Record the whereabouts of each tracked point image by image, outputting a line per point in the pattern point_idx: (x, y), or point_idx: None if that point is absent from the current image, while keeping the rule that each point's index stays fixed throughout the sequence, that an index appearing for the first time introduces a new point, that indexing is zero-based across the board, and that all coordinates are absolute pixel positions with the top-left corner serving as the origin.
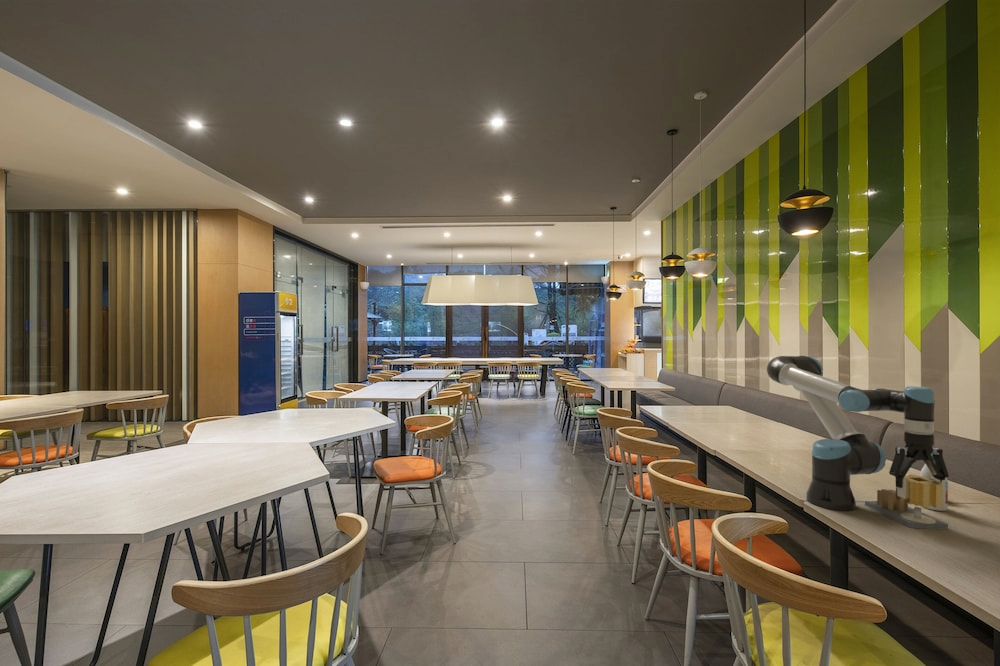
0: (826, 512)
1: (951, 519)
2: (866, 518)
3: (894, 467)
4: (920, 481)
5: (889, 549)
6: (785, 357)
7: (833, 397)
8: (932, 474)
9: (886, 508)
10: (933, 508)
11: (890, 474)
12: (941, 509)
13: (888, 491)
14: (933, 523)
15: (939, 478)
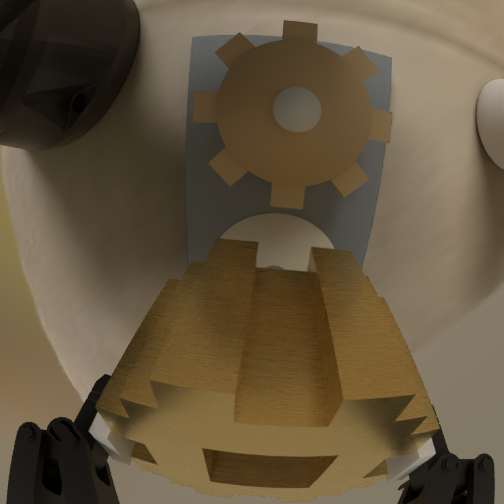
0: (12, 171)
1: (453, 240)
2: (90, 218)
3: (29, 491)
4: (224, 485)
5: (73, 372)
6: None
7: None
8: (429, 482)
9: (222, 146)
10: (487, 150)
11: (31, 425)
12: (501, 167)
13: (287, 80)
14: None
15: (408, 483)
